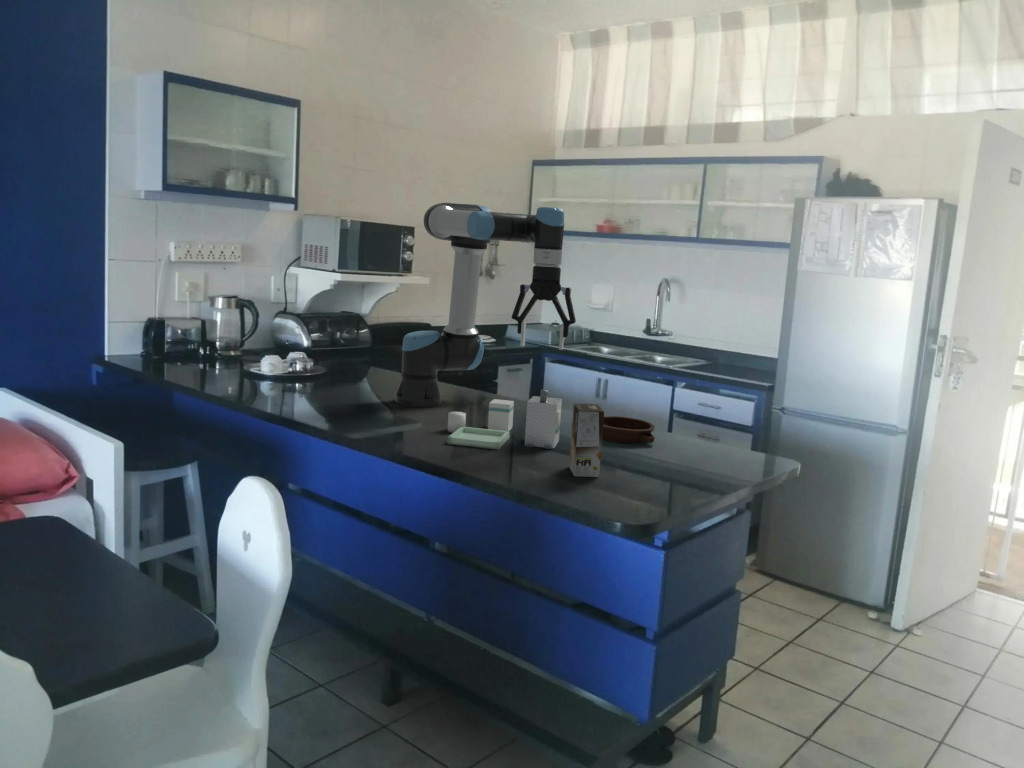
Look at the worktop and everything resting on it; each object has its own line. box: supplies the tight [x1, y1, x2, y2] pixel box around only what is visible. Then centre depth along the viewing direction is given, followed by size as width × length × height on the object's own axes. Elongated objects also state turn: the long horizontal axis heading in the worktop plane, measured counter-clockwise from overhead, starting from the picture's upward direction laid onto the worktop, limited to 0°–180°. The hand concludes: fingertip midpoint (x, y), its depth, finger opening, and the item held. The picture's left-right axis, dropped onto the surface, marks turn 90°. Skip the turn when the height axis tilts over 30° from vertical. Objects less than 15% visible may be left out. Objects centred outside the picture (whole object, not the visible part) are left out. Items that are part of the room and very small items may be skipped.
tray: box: [446, 426, 511, 450], centre depth 225 cm, size 14×14×2 cm
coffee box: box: [568, 403, 605, 478], centre depth 199 cm, size 9×6×16 cm
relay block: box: [487, 398, 515, 432], centre depth 241 cm, size 6×6×8 cm
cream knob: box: [447, 411, 467, 433], centre depth 235 cm, size 5×5×5 cm
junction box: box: [524, 389, 563, 450], centre depth 226 cm, size 8×11×15 cm
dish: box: [602, 415, 656, 444], centre depth 238 cm, size 17×22×5 cm
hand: (541, 347), depth 227 cm, fingers open, 10 cm apart
